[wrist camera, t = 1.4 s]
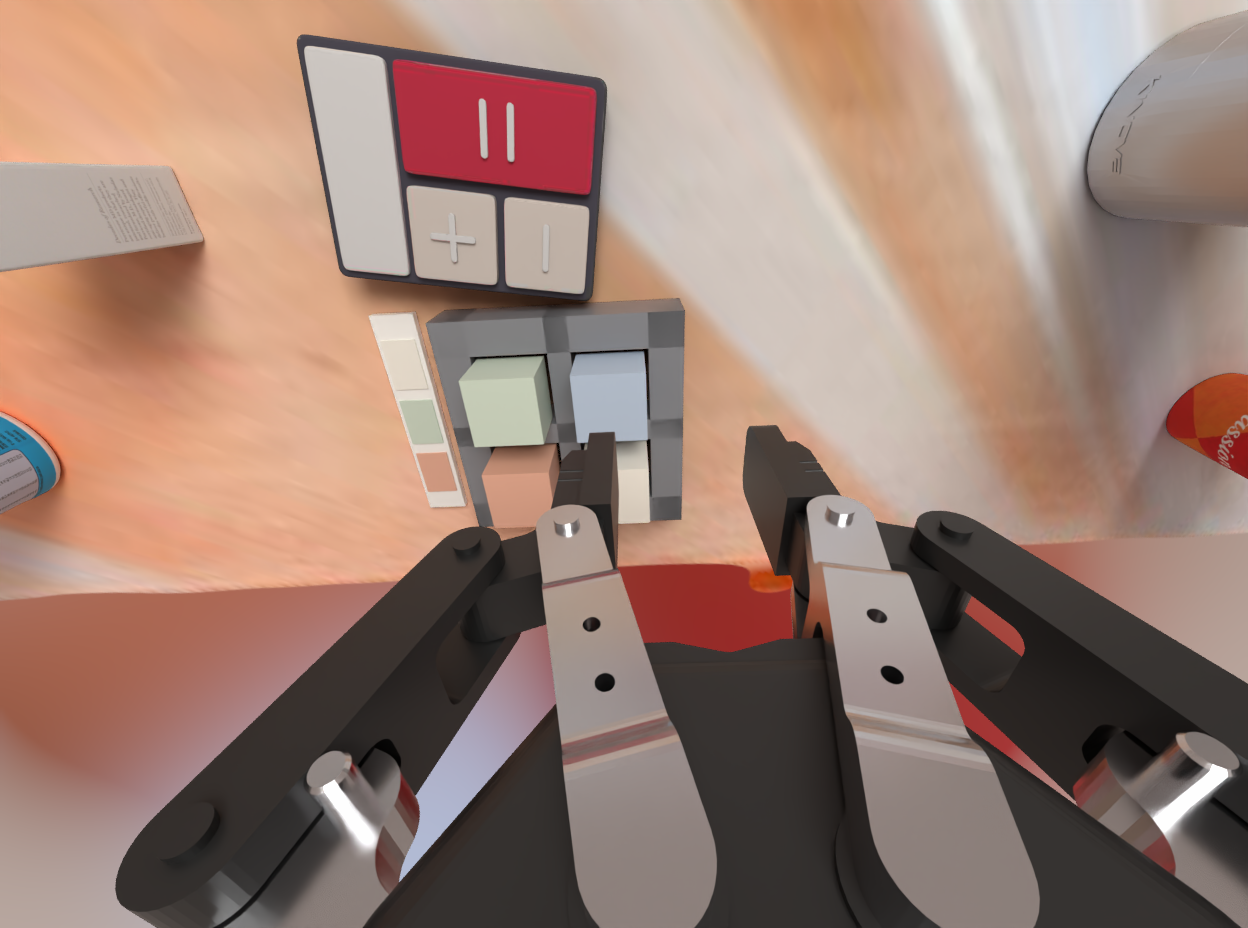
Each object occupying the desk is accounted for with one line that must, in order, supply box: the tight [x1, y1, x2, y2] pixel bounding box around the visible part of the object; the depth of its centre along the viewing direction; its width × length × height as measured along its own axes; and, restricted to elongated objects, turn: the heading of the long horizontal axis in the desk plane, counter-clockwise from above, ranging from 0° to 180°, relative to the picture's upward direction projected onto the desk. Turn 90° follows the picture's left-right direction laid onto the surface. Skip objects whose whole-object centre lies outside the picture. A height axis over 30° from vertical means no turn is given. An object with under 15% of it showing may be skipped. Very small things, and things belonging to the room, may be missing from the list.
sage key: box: [459, 356, 553, 447], centre depth 30 cm, size 4×4×4 cm
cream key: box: [584, 440, 650, 524], centre depth 33 cm, size 4×4×4 cm
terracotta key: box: [482, 443, 560, 528], centre depth 33 cm, size 4×4×4 cm
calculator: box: [297, 35, 607, 301], centre depth 27 cm, size 11×4×15 cm
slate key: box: [570, 351, 648, 443], centre depth 30 cm, size 4×4×4 cm
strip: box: [369, 312, 467, 507], centre depth 36 cm, size 3×16×1 cm, turn 3°
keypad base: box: [426, 298, 685, 527], centre depth 34 cm, size 16×16×4 cm
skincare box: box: [0, 162, 203, 272], centre depth 24 cm, size 6×4×12 cm
